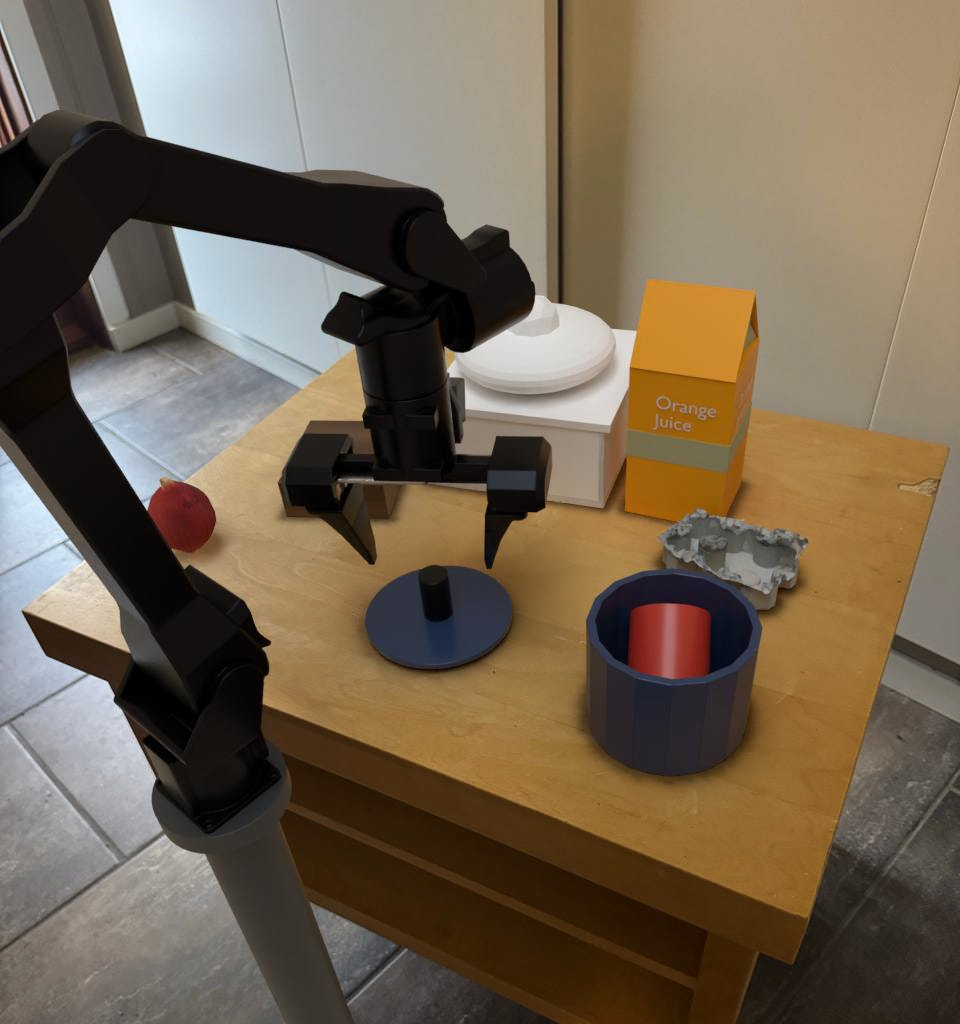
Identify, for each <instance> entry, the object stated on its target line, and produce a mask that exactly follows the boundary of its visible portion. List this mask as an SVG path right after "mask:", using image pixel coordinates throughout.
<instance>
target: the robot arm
mask: <svg viewBox="0 0 960 1024" xmlns="http://www.w3.org/2000/svg"><path fill="white" fill-rule="evenodd" d="M129 220H135V221H142V222H146V223H151V224H156V225H162V226H167V227H173V228H178V229H183V230H189V231H194V232H200V233H206V234H210V235H216V236H221V237H226V238H231V239H236V240H237V239H238V240H241V241H242V240H243V241H248V242H253V243H258V244H262V245H263V244H265V245H269V246H275V247H280V248H286V249H291V250H295V251H296V252H298V253H300V254H303V255H304V256H307V257H309V258H311V259H313V260H316V261H317V262H320V263H322V264H324V265H327V266H329V267H331V268H333V269H336V270H339V271H342V272H345V273H348V274H351V275H353V276H356V277H360V278H362V279H366V280H369V281H370V282H371V281H372V282H374V283H378V284H380V286H378V287H376V288H375V289H372V290H371V291H368V292H366V293H365V294H363V295H360V296H359V295H356V294H353V293H350V292H348V291H344V290H343V291H341V292H340V294H339V296H338V298H337V301H336V303H335V304H334V306H333V308H331V309H330V310H329V311H328V312H327V313H326V314H325V317H324V319H323V320H322V322H321V324H320V330H321V332H322V333H323V334H325V335H328V336H331V337H333V338H336V339H338V340H341V341H343V342H346V343H348V344H350V345H353V346H354V349H355V354H356V359H357V365H358V371H359V376H360V377H359V378H360V383H361V388H362V394H363V400H364V405H365V408H364V410H363V412H362V414H361V418H362V421H363V424H364V429H370V434H371V439H372V445H373V451H374V454H354V452H355V446H354V441H353V438H352V437H351V436H350V435H349V434H317V433H304V432H303V433H304V434H302V435H301V436H300V438H299V439H298V440H297V441H296V443H295V445H294V447H293V448H292V451H291V452H290V455H289V457H288V459H287V461H286V462H285V464H284V466H283V468H282V470H281V476H280V478H281V484H282V488H283V492H284V496H285V500H286V502H287V503H288V504H289V505H290V506H302V507H305V510H306V512H307V513H308V514H309V515H317V516H319V517H318V518H320V519H322V520H323V521H324V522H325V523H326V524H327V525H328V526H330V527H331V528H332V529H333V530H334V531H335V532H336V533H338V534H339V535H340V536H341V537H342V538H343V539H344V540H345V541H346V543H348V544H349V546H351V547H352V548H353V549H354V550H355V552H356V553H357V554H358V555H359V556H360V557H361V558H362V559H363V560H364V561H365V562H366V563H367V564H368V565H369V566H374V565H375V564H376V563H377V559H378V553H377V544H376V539H375V535H374V531H373V527H372V523H371V518H369V515H368V511H367V508H366V504H365V500H364V496H363V486H362V484H401V485H407V486H408V485H409V486H410V485H411V486H413V485H414V486H426V485H428V483H468V484H487V488H486V490H487V492H486V501H487V504H486V508H485V512H484V531H483V534H484V535H483V536H484V540H483V542H484V543H483V544H484V545H483V559H484V564H485V568H486V570H492V569H493V566H494V563H495V560H496V557H497V554H498V550H499V548H500V545H501V542H502V540H503V538H504V536H505V534H506V533H507V532H508V529H510V527H511V524H512V523H513V522H515V521H516V522H518V521H519V522H520V521H524V520H525V519H526V518H528V516H529V513H533V514H534V513H536V514H537V513H539V512H541V511H543V510H544V509H546V507H547V501H548V500H547V496H548V490H549V484H550V478H551V472H552V447H551V445H550V444H549V443H548V442H547V440H546V439H545V438H544V437H541V436H496V439H495V443H494V447H493V450H492V454H491V455H485V454H456V447H455V444H461V442H462V439H463V435H464V433H463V423H462V422H465V421H466V413H465V379H464V378H459V377H450V375H449V373H447V369H448V366H447V357H446V349H448V351H451V352H453V353H455V352H456V353H465V352H469V351H471V350H472V349H474V348H476V347H478V346H479V345H481V344H483V343H485V342H486V341H488V340H490V339H492V338H493V337H495V336H497V335H498V334H500V333H502V332H504V331H505V330H507V329H509V328H511V327H512V326H514V325H516V324H518V323H519V322H521V321H523V320H524V319H525V318H527V317H528V316H529V314H530V313H531V311H532V309H533V306H534V303H535V295H537V293H536V285H535V282H534V281H533V280H532V276H531V274H530V271H529V269H528V268H527V267H528V266H527V265H526V263H525V262H524V260H523V259H522V257H521V256H520V255H519V253H517V252H516V250H514V249H513V247H511V241H510V240H511V239H510V231H509V230H508V229H506V228H501V227H499V226H494V225H491V224H484V225H482V226H480V227H478V228H476V229H474V230H473V231H472V232H471V233H470V234H469V235H468V236H466V237H463V238H462V239H461V237H459V235H458V234H457V233H456V231H454V229H453V228H452V227H451V226H450V224H449V223H448V217H447V214H446V211H445V201H444V199H443V198H442V197H441V196H440V195H439V193H437V192H435V191H434V190H431V189H430V188H428V187H425V186H420V185H417V184H416V185H415V184H412V183H407V182H403V181H400V180H396V179H392V178H387V177H384V176H380V175H376V174H372V173H369V172H365V171H361V170H360V171H359V170H353V169H352V170H351V169H350V170H349V169H348V170H347V169H345V170H344V169H313V170H308V171H307V170H306V171H301V172H299V171H298V172H297V171H296V172H295V171H281V170H277V169H273V168H269V167H266V166H261V165H257V164H254V163H251V162H246V161H242V160H239V159H235V158H231V157H227V156H223V155H220V154H215V153H212V152H208V151H204V150H200V149H197V148H193V147H189V146H185V145H181V144H177V143H173V142H169V141H167V140H166V141H165V140H161V139H158V138H154V137H151V136H147V135H143V134H140V133H139V134H138V133H136V132H135V131H132V130H130V129H129V128H127V127H126V126H124V125H123V124H120V123H118V122H115V121H113V120H109V119H105V118H101V117H97V116H93V115H90V114H87V113H82V112H78V111H75V110H65V109H55V110H53V111H50V112H47V113H45V114H43V115H42V116H41V117H40V118H38V119H37V120H35V121H34V122H32V123H31V124H30V125H29V126H28V127H27V128H25V129H23V131H21V132H20V133H19V134H17V136H15V137H14V138H13V139H12V140H11V141H9V142H8V143H7V144H5V145H3V146H1V147H0V448H1V449H2V450H3V452H4V453H5V454H6V456H7V457H8V458H9V460H10V461H11V463H12V464H13V465H14V467H15V468H16V469H17V470H18V472H19V474H20V475H21V477H22V478H24V480H25V481H26V483H27V484H28V486H29V487H30V488H31V490H32V491H33V492H34V493H35V495H36V496H37V497H38V499H39V500H40V502H41V503H42V505H44V507H45V509H47V511H48V512H49V514H50V515H51V516H52V518H53V519H54V521H55V522H56V523H57V525H59V527H60V528H61V530H62V532H64V534H65V535H66V536H67V538H68V539H69V541H70V542H71V544H72V545H73V546H74V547H75V549H76V550H77V551H78V553H79V554H80V556H81V557H82V558H83V559H84V561H85V563H87V565H88V566H89V567H90V569H91V570H92V571H93V573H94V574H95V576H96V577H97V578H98V580H99V581H100V582H101V583H102V585H103V586H104V588H105V589H106V590H107V592H108V593H109V594H110V596H111V598H113V600H114V601H115V602H116V605H117V607H118V611H119V625H120V626H119V628H120V632H121V635H122V637H123V639H124V642H125V644H126V645H127V648H128V650H129V653H130V655H131V657H130V660H129V662H128V664H127V667H126V669H125V671H124V672H123V676H122V678H121V680H120V682H119V685H118V687H117V690H116V692H115V694H114V697H113V703H114V704H115V705H116V706H117V707H118V708H119V709H120V710H121V711H123V712H124V713H125V714H126V715H127V716H128V717H130V719H132V720H133V721H134V722H135V723H137V725H139V726H140V727H141V728H142V729H143V730H144V731H146V732H147V733H148V734H147V735H145V736H144V737H143V738H142V739H141V743H142V745H143V747H144V749H145V751H146V753H147V755H148V758H149V759H150V762H151V763H152V765H153V767H154V769H155V771H156V773H157V776H158V775H159V777H160V778H159V779H158V780H157V781H156V783H155V782H154V783H155V786H156V788H157V790H158V791H159V792H160V793H161V794H162V795H163V796H164V797H165V798H166V799H167V800H168V801H170V802H171V803H172V804H173V805H174V806H175V807H176V808H177V809H178V810H179V811H180V812H182V813H183V814H184V815H185V816H186V817H187V818H188V819H189V820H190V821H191V822H193V823H194V824H195V825H196V826H197V827H198V828H199V829H200V830H201V831H202V832H203V833H205V834H212V833H213V832H215V831H216V830H217V829H219V828H220V827H221V826H223V825H224V824H225V823H226V822H228V821H229V820H230V819H231V818H233V817H234V816H235V815H236V814H238V813H239V812H240V811H241V810H243V809H244V808H245V807H247V806H248V805H249V804H250V803H252V802H253V801H254V800H255V799H257V798H258V797H259V796H260V795H262V794H263V793H264V792H265V791H267V790H268V789H269V788H271V787H272V786H273V785H274V784H276V783H277V782H278V781H279V780H280V779H281V773H280V771H279V769H278V768H276V767H275V766H274V765H273V764H271V763H270V762H269V761H267V760H266V759H265V758H267V757H268V756H269V750H268V747H267V744H266V741H265V738H266V737H265V736H264V733H263V730H262V719H263V704H264V690H265V689H264V688H265V678H266V677H267V676H268V675H269V674H270V661H269V658H268V655H267V652H266V651H265V650H264V648H267V647H270V646H271V644H272V640H270V639H268V638H267V637H266V636H264V635H263V634H261V633H260V631H259V630H258V628H257V625H256V624H255V620H254V617H253V614H252V612H251V610H250V607H249V606H248V604H247V603H246V601H245V599H242V598H241V597H240V596H238V595H236V594H235V593H234V592H232V591H231V590H229V589H228V588H226V587H225V586H223V585H222V584H220V583H219V582H217V581H216V580H214V579H213V578H212V577H210V576H208V574H205V573H204V572H202V571H201V570H199V569H198V568H196V567H195V566H194V565H192V564H188V565H187V566H185V568H184V566H183V565H182V563H181V561H180V560H179V558H178V557H177V555H176V554H175V552H174V550H173V549H171V547H170V546H169V544H168V543H167V541H166V540H165V538H164V536H163V535H162V533H161V532H160V530H159V529H158V527H157V525H156V524H155V522H154V521H153V519H152V518H151V516H150V514H149V513H148V511H147V508H146V506H145V505H144V503H143V502H142V500H141V499H140V497H139V496H138V494H137V492H136V491H135V489H134V488H133V486H132V485H131V483H130V481H129V480H128V478H127V476H126V475H125V473H124V471H123V470H122V469H121V468H120V466H119V464H118V462H117V460H115V458H114V456H113V455H112V453H111V451H110V450H109V448H108V447H107V445H106V444H105V442H104V440H103V439H102V437H101V435H100V434H99V432H98V431H97V429H96V428H95V427H94V424H93V423H92V422H91V420H90V419H89V417H88V416H87V414H86V412H85V410H84V409H83V408H82V406H81V404H80V403H79V401H78V400H77V396H76V395H75V392H74V390H73V386H72V379H71V369H70V361H69V360H70V359H69V352H68V351H69V350H68V345H67V340H66V338H65V335H64V333H63V331H62V329H61V325H60V323H59V320H58V318H57V316H56V313H55V312H57V311H58V310H59V309H60V308H61V307H62V306H63V305H65V303H66V302H68V301H69V300H70V299H71V298H72V297H73V296H75V295H76V294H77V293H78V292H79V291H80V290H81V289H82V288H83V287H84V285H86V283H87V281H88V279H89V277H90V276H91V274H92V272H93V271H94V268H96V267H95V266H96V265H97V263H98V261H99V259H100V257H101V256H102V254H103V252H104V251H105V249H106V247H107V245H108V243H109V241H110V239H111V237H112V236H113V235H114V233H115V232H117V231H118V230H119V229H120V228H121V227H122V226H124V225H125V223H127V222H128V221H129ZM275 774H276V775H275ZM272 775H275V776H274V777H271V776H272ZM162 784H163V786H161V785H162ZM209 825H211V827H209V828H206V827H207V826H209Z"/></svg>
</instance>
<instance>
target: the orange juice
mask: <svg viewBox="0 0 960 1024" xmlns="http://www.w3.org/2000/svg"><path fill="white" fill-rule="evenodd" d="M757 307H758V306H757V291H756V290H751V289H749V290H748V289H743V288H742V289H740V288H733V287H723V286H714V285H706V284H697V283H687V282H678V281H672V280H671V281H669V280H660V279H654V278H653V279H651V278H647V279H646V284H645V289H644V294H643V299H642V304H641V308H640V313H639V318H638V324H637V329H636V331H637V333H636V337H635V342H634V347H633V352H632V357H631V362H630V369H629V401H628V428H627V444H626V455H627V456H626V463H625V464H626V467H625V497H624V498H625V499H624V512H628V513H631V514H632V513H633V514H637V515H641V516H646V517H652V518H656V519H660V520H661V519H662V520H667V521H672V522H675V523H677V521H681V520H682V519H683V518H684V517H685V515H686V514H689V515H690V516H691V515H692V514H693V513H694V511H695V509H696V508H698V509H703V510H705V511H707V512H708V514H709V516H714V515H717V516H720V517H727V515H728V513H729V511H730V508H731V507H732V504H733V502H734V500H735V498H736V496H737V493H738V491H739V489H740V487H741V485H742V480H743V479H742V478H743V471H744V463H745V456H746V447H747V439H748V432H749V428H750V421H751V414H752V405H753V394H754V386H755V377H756V372H757V371H756V370H757V362H758V356H759V355H758V354H759V348H760V340H761V336H760V333H759V321H758V320H759V319H758V308H757Z"/></svg>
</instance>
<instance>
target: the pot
mask: <svg viewBox="0 0 960 1024" xmlns="http://www.w3.org/2000/svg"><path fill="white" fill-rule="evenodd" d="M660 603H673V604H685V605H691V606H695V607H699V608H702V609H704V610H706V611H708V612H709V613H710V614H711V646H710V674H708V675H706V676H701V677H689V678H677V679H670V678H665V677H660V676H654V675H649V674H644V673H640V672H638V671H636V670H634V669H632V668H631V667H629V666H627V664H628V644H629V624H630V612H631V611H632V610H633V609H635V608H637V607H640V606H644V605H649V604H660ZM762 634H763V626H762V623H761V620H760V617H759V615H758V613H757V610H756V609H755V607H754V605H753V604H752V603H751V602H750V601H749V600H748V599H747V598H746V597H745V596H744V595H743V594H742V593H741V592H740V591H738V590H737V589H736V588H735V587H734V586H733V585H730V584H728V583H726V582H724V581H721V580H719V579H717V578H715V577H713V576H710V575H708V574H705V573H700V572H693V571H687V570H681V569H674V568H671V569H666V568H661V569H659V568H658V569H649V570H641V571H638V572H636V573H633V574H631V575H628V576H626V577H622V578H620V579H618V580H615V581H613V582H612V583H611V584H610V585H608V587H606V588H605V589H604V590H603V591H602V592H600V593H599V594H598V595H597V596H595V598H594V600H593V602H592V604H591V607H590V609H589V612H588V614H587V616H586V619H585V653H586V654H585V659H586V660H585V662H586V663H585V670H586V671H585V672H586V673H585V676H586V678H585V680H586V681H585V683H586V684H585V685H586V686H585V687H586V688H585V691H586V693H585V695H586V696H585V697H586V700H585V702H586V710H587V721H588V725H589V730H590V731H591V734H592V736H593V737H594V739H595V741H596V742H597V744H598V745H599V746H600V748H602V749H603V750H604V751H605V752H606V753H607V754H608V755H610V757H612V758H613V759H615V760H616V761H618V762H619V763H621V764H623V765H625V766H627V767H629V768H631V769H635V770H637V771H640V772H642V773H647V774H652V775H657V776H658V775H659V776H670V777H672V776H685V775H693V774H695V773H700V772H704V771H706V770H709V769H711V768H713V767H715V766H717V765H719V764H720V763H722V762H723V761H725V760H726V759H728V757H730V756H731V755H732V753H734V752H735V751H736V749H737V748H738V746H739V745H740V743H741V741H742V740H743V738H744V734H745V732H746V726H747V721H748V716H749V711H750V705H751V700H752V693H753V686H754V680H755V676H756V669H757V663H758V658H759V651H760V647H761V645H760V644H761V639H762Z"/></svg>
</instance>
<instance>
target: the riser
mask: <svg viewBox="0 0 960 1024" xmlns="http://www.w3.org/2000/svg"><path fill="white" fill-rule="evenodd" d="M304 433H317V434H349V435H350V436H351V437H352V438H353V441H354V446H355V452H354V454H374V451H373V445H372V439H371V434H370V429H364V424H363V420H321V419H320V420H314V419H311V420H309V422H308V424H307V426H306V427H305V429H304V431H303V434H304ZM303 434H302V435H303ZM277 486H278V489H279V494H280V497H281V501H282V504H283V508H284V512H285V515H286V517H300V518H305V517H306V518H320V517H319V516H317V515H309V514H308V513H307V512H306V510H305V507H302V506H290V505H289V504H288V503H287V502H286V500H285V496H284V492H283V488H282V484H281V477H280V478H279V479H278V481H277ZM362 486H363V496H364V500H365V504H366V508H367V511H368V515H369V519H373V520H374V519H379V520H389V519H390V516H391V513H392V511H393V507H394V505H395V502H396V500H397V497H398V494H399V491H400V488H401V486H402V484H362Z"/></svg>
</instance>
